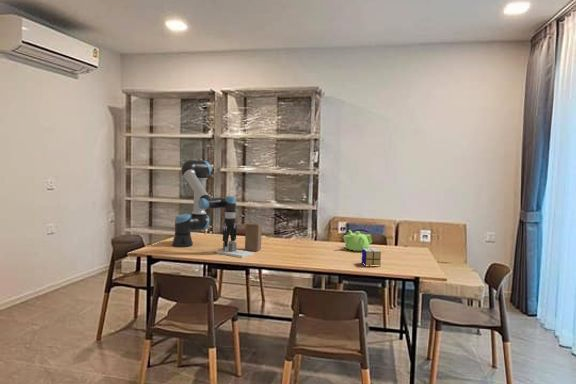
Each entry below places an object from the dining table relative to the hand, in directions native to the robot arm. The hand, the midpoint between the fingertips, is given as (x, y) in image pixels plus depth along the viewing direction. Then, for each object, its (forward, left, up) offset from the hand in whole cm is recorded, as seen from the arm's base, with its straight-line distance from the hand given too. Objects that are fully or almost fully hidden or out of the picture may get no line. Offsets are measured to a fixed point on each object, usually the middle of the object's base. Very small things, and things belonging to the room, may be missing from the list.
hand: (229, 250), depth 307 cm
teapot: (+67, +73, -2) cm, 99 cm away
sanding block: (0, 0, 0) cm, 1 cm away
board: (+5, 0, -2) cm, 6 cm away
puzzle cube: (+94, +30, -2) cm, 99 cm away
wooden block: (+7, +19, -2) cm, 20 cm away
